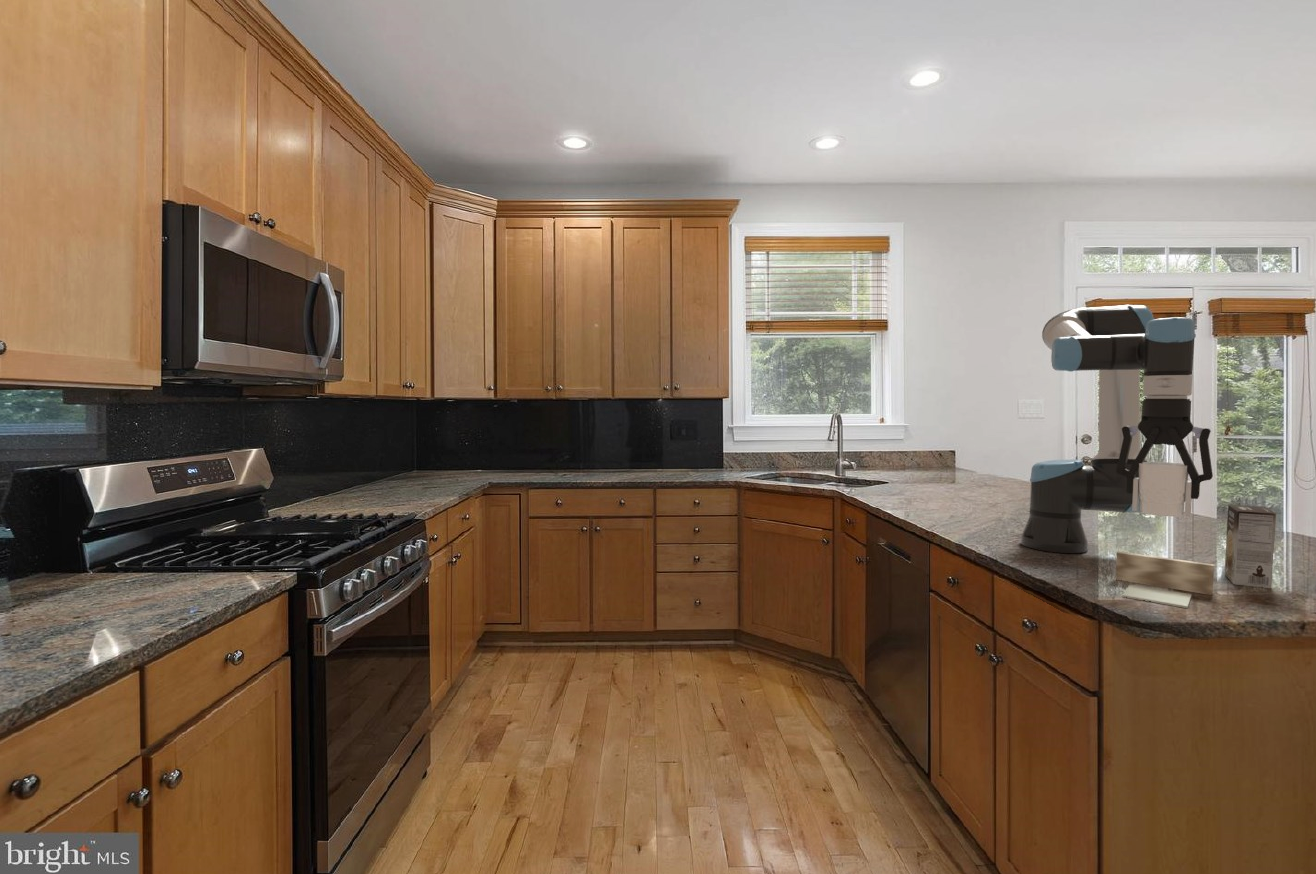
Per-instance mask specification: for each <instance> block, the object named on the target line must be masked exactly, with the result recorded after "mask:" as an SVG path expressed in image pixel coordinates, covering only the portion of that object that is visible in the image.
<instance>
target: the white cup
mask: <svg viewBox="0 0 1316 874" xmlns="http://www.w3.org/2000/svg"><path fill="white" fill-rule="evenodd" d="M1188 481H1189V474H1188V472H1187V466H1185V465H1184V463H1179V462H1170V461H1169V462H1167V461H1147V462H1143V463H1139V497H1140V512H1141V513H1143V514H1145V515H1151V516H1158V517H1159V516H1160V517H1182V516H1183V515H1184V514H1185V499H1186V482H1188Z"/></svg>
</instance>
